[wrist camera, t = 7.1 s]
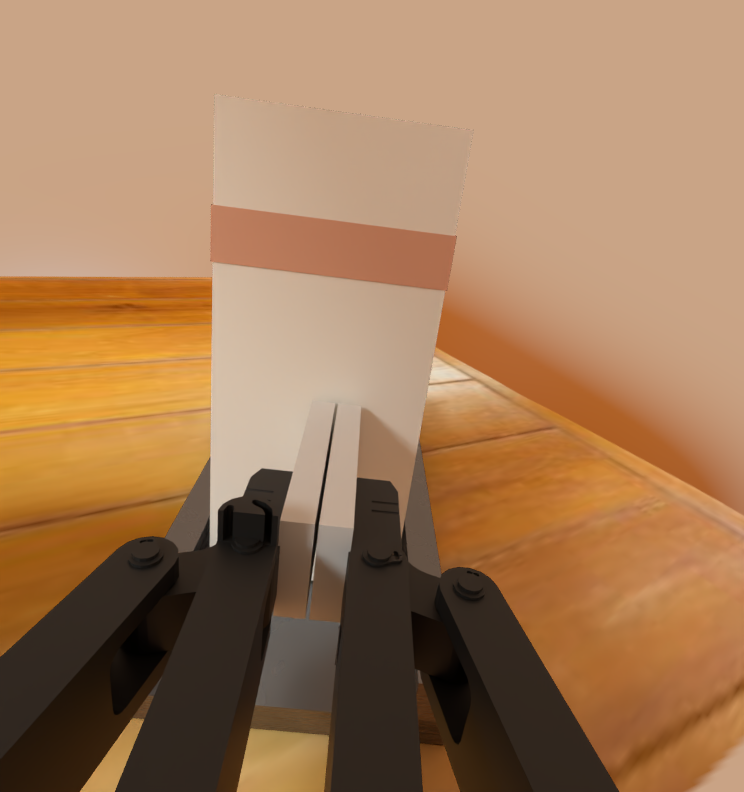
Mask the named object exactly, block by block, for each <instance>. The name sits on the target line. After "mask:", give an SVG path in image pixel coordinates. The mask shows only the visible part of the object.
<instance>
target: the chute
mask: <svg viewBox="0 0 744 792" xmlns="http://www.w3.org/2000/svg"><path fill="white" fill-rule="evenodd" d="M210 465H211V456H210V458H209V460H208V462H207V464H206V465H205V467H204V469H203V471H202V472H201V474H200V476H199V478H198V480H197V481H196V483H195V485H194V487H193V488H192V490H191V492H190V494H189V496H188V497H187V499H186V501H185V503H184V504H183V506H182V508H181V510H180V512H179V513H178V515H177V517H176V519H175V521H174V522H173V524H172V526H171V528H170V529H169V531H168V533H167V535H166V537H165V539H168V540H170V541H172V542H173V543H174V544H175V545H176V546H177V548H178V553H182V552H190V551H197V550H202V549H206V548H209V547H210ZM401 543H402V551H403V552H404V553H405V555H406V558H407V561H408V562H409V563H410V564H411V565H413V566H414V567H416V568H417V569H419V570H420V571H423V572H425V573H427V574H430V575H433V576H436V577H439V578H440V577H441V575H442V574H441V568H440V562H439V556H438V550H437V544H436V537H435V531H434V525H433V519H432V513H431V507H430V501H429V495H428V489H427V482H426V476H425V470H424V464H423V458H422V452H421V446H420V440H419V442H418V447H417V453H416V459H415V464H414V470H413V476H412V481H411V487H410V493H409V498H408V504H407V510H406V515H405V521H404V527H403V532H402V538H401ZM312 587H313V581H311V585H310V592H309V598H308V605H307V611H306V617H305V619H299V618H289V617H278V616H273V613H272V617H271V631H270V638H269V642H268V647H267V652H266V656H265V661H264V666H263V670H262V675H261V680H260V684H259V689H258V694H257V698H256V703H255V708H254V712H253V717H252V722H251V726H250V728H255V729H266V730H278V731H289V732H301V733H312V734H323V735H329V734H330V723H331V712H332V701H333V690H334V679H335V668H336V665H335V659H336V651H337V644H338V636H339V629H340V623H339V622H329V621H319V620H309V616H310V606H311V597H312ZM273 612H274V609H273ZM161 678H162V677H161ZM161 678H160V680H161ZM160 680H159V681H158V682H157V684H156V685H155V687H154V688H153V689H152V691H151V692H150V694H149V695H148V697H147V698H146V699H145V701H144V702H143V704H142V705H141V706H140V708H139V709H138V711H137V712H136V713H135V715H134V716H133V718H141V719H145V717H146V714H147V712H148V709H149V707H150V704H151V702H152V700H153V697H154V695H155V692H156V690H157V687H158V685H159V682H160ZM415 682H416V697H417V712H418V727H419V742H420V743H425V744H437V745H444V743H443V740H442V737H441V735H440V732H439V729H438V726H437V723H436V720H435V717H434V714H433V712H432V709H431V706H430V703H429V700H428V697H427V694H426V691H425V689H424V686H423V683H422V680H421V675H420V671H419V670H417V669H415Z"/></svg>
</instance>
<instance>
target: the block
mask: <svg viewBox="0 0 744 792" xmlns="http://www.w3.org/2000/svg"><path fill="white" fill-rule="evenodd" d="M472 136H473V130H469V129H462V128H455V127H447V126H440V125H433V124H426V123H419V122H412V121H405V120H397V119H390V118H383V117H375V116H368V115H361V114H354V113H347V112H339V111H332V110H325V109H318V108H311V107H303V106H296V105H289V104H282V103H274V102H267V101H260V100H253V99H246V98H239V97H231V96H224V95H217V94H214V179H213V180H214V182H213V183H214V184H213V204H211V260H210V261H212V262H213V274H212V370H211V465H210V547H211V546H214V545H215V544H216V543H217V528H218V509H219V508H220V507H221V506H222V504H223V503H225V502H227V501H229V500H231V499H234V498H238V497H242V496H243V495H244V492H245V490H246V487H247V485H248V482H249V480H250V477H251V476H253V475H254V474H255V473H256V472H258V471H259V470H260V469H261V468H265V469H274V470H283V471H292V472H293V470H294V467H295V463H296V459H297V455H298V452H299V448H300V444H301V441H302V437H303V433H304V430H305V426H306V422H307V418H308V415H309V411H310V407H311V404H312V400H313V401H322V402H331V403H335V411H334V421H333V430H332V439H333V433H334V427H335V421H336V414H337V408H338V403H339V404H348V405H356V406H361V417H360V433H359V449H358V466H357V477H358V478H367V479H376V480H385V481H390V482H391V483H392V484H393V486H394V487H395V488H396V490H397V491H398V498H399V515H400V528H401V538H402V532H403V527H404V521H405V515H406V510H407V504H408V498H409V493H410V487H411V481H412V476H413V470H414V464H415V459H416V453H417V447H418V442H419V436H420V430H421V425H422V419H423V414H424V408H425V402H426V397H427V391H428V385H429V380H430V374H431V368H432V363H433V357H434V351H435V345H436V340H437V334H438V329H439V323H440V317H441V312H442V306H443V300H444V295H445V291H447V289H448V283H449V277H450V272H451V266H452V261H453V255H454V249H455V244H456V237H457V236H456V235H455V233H456V226H457V221H458V215H459V209H460V204H461V198H462V193H463V187H464V182H465V175H466V170H467V165H468V159H469V153H470V148H471V142H472ZM332 439H331V446H332ZM330 452H331V449H330ZM316 549H317V547H316ZM315 558H316V553H315ZM314 568H315V560H314V566H313V572H312V579H311V581H313V577H314Z"/></svg>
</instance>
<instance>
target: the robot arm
mask: <svg viewBox="0 0 744 792" xmlns="http://www.w3.org/2000/svg"><path fill="white" fill-rule="evenodd" d="M334 411H335V403H331V402H322V401H313V400H312V404H311V407H310V411H309V415H308V418H307V422H306V426H305V430H304V433H303V437H302V441H301V444H300V448H299V452H298V455H297V459H296V463H295V467H294V470H293V472H292V471H283V470H274V469H265V468H261V469H260V470H259V471H258V472H256V473H255V474H254V475H253V476H251V477H250V480H249V482H248V485H247V487H246V490H245V492H244V495H243V496H242V497H238V498H234V499H231V500H229V501H227V502H225V503H223V504H222V506H221V507H220V508H219V509H218V528H217V543H216V544H215V545H214V546H211V547H209V548H206V549H202V550H197V551H190V552H182V553H178V548H177V546H176V545H175V544H174V543H173V542H172V541H170V540H168V539H165V538H161V537H153V536H151V537H142V538H138V539H135V540H132V541H129V542H127V543H126V544H124V545H123V546H121V547H120V548H118V549H117V550H116V551H115V552H114V553H113V554H112V555H111V556H109V557H108V558H107V559H106V560H105V561H104V562H103V563H102V564H101V565H100V566H99V567H98V568H96V569H95V570H94V571H93V572H92V573H91V574H90V575H89V576H88V577H87V578H86V579H85V580H83V581H82V582H81V583H80V584H79V585H78V586H77V587H76V588H75V589H74V590H73V591H72V592H70V593H69V594H68V595H67V596H66V597H65V598H64V599H63V600H62V601H61V602H60V603H59V604H58V605H56V606H55V607H54V608H53V609H52V610H51V611H50V612H49V613H48V614H47V615H46V616H45V617H43V618H42V619H41V620H40V621H39V622H38V623H37V624H36V625H35V626H34V627H33V628H32V629H30V630H29V631H28V632H27V633H26V634H25V635H24V636H23V637H22V638H21V639H20V640H19V641H17V642H16V643H15V644H14V645H13V646H12V647H11V648H10V649H9V650H8V651H7V652H6V653H4V654H3V655H2V656H1V657H0V792H80V790H81V789H82V788H83V786H84V785H85V783H86V782H87V781H88V779H89V778H90V776H91V775H92V774H93V772H94V771H95V769H96V768H97V767H98V765H99V764H100V762H101V761H102V760H103V758H104V757H105V755H106V754H107V753H108V751H109V750H110V748H111V747H112V746H113V744H114V743H115V741H116V740H117V739H118V737H119V736H120V734H121V733H122V732H123V730H124V729H125V727H126V726H127V725H128V723H129V722H130V720H131V719H132V718H133V716H134V715H135V713H136V712H137V711H138V709H139V708H140V706H141V705H142V704H143V702H144V701H145V699H146V698H147V697H148V695H149V694H150V692H151V691H152V689H153V688H154V687H155V685H156V684H157V682H158V681H159V680H160V678H161V677H162V678H161V680H160V682H159V685H158V687H157V690H156V692H155V695H154V697H153V700H152V702H151V704H150V707H149V709H148V712H147V714H146V717H145V719H144V722H143V724H142V727H141V729H140V731H139V734H138V736H137V739H136V741H135V744H134V746H133V749H132V751H131V753H130V756H129V758H128V761H127V763H126V766H125V768H124V771H123V773H122V776H121V778H120V780H119V783H118V785H117V788H116V790H115V792H237V787H238V782H239V778H240V773H241V768H242V764H243V759H244V754H245V750H246V745H247V740H248V736H249V731H250V726H251V722H252V717H253V712H254V708H255V703H256V698H257V694H258V689H259V684H260V680H261V675H262V670H263V666H264V661H265V656H266V652H267V647H268V642H269V638H270V631H271V617H272V613H273V616H278V617H289V618H299V619H305V617H306V611H307V605H308V598H309V592H310V585H311V579H312V572H313V566H314V560H315V568H314V577H313V587H312V597H311V606H310V616H309V620H319V621H329V622H339V623H340V629H339V636H338V644H337V651H336V659H335V665H336V668H335V679H334V690H333V701H332V712H331V723H330V734H329V745H328V756H327V767H326V778H325V789H324V792H423V786H422V772H421V757H420V742H419V727H418V712H417V697H416V682H415V669H417V670H419V671H420V675H421V680H422V683H423V686H424V689H425V691H426V694H427V697H428V700H429V703H430V706H431V709H432V712H433V714H434V717H435V720H436V723H437V726H438V729H439V732H440V735H441V737H442V740H443V743H444V746H445V749H446V752H447V755H448V757H449V760H450V763H451V766H452V769H453V772H454V775H455V778H456V780H457V783H458V786H459V789H460V792H619V790H618V789H617V787H616V785H615V784H614V782H613V780H612V779H611V777H610V775H609V774H608V772H607V770H606V769H605V767H604V765H603V764H602V762H601V760H600V758H599V757H598V755H597V753H596V752H595V750H594V748H593V747H592V745H591V743H590V742H589V740H588V738H587V737H586V735H585V733H584V732H583V730H582V728H581V727H580V725H579V723H578V721H577V720H576V718H575V716H574V715H573V713H572V711H571V710H570V708H569V706H568V705H567V703H566V701H565V700H564V698H563V696H562V695H561V693H560V691H559V689H558V688H557V686H556V684H555V683H554V681H553V679H552V678H551V676H550V674H549V673H548V671H547V669H546V668H545V666H544V664H543V663H542V661H541V659H540V657H539V656H538V654H537V652H536V651H535V649H534V647H533V646H532V644H531V642H530V641H529V639H528V637H527V636H526V634H525V632H524V631H523V629H522V627H521V625H520V624H519V622H518V620H517V619H516V617H515V615H514V614H513V612H512V610H511V609H510V607H509V605H508V604H507V602H506V600H505V599H504V597H503V595H502V594H501V592H500V590H499V588H498V587H497V585H496V584H495V583H494V582H493V581H492V580H491V578H489V577H488V576H486V575H485V574H483V573H482V572H480V571H477V570H474V569H471V568H463V567H456V568H452V569H448V570H447V571H445V572H444V573H443V574H442V575H441V577H440V578H439V577H436V576H433V575H430V574H427V573H425V572H423V571H420V570H419V569H417V568H416V567H414V566H413V565H411V564H410V563H409V562H408V561H407V558H406V555H405V553H404V552H403V551H402V543H401V528H400V515H399V498H398V491H397V490H396V488H395V487H394V486H393V484H392V483H391V482H390V481H385V480H376V479H367V478H358V477H357V466H358V449H359V433H360V417H361V406H356V405H348V404H339V403H338V408H337V414H336V421H335V427H334V433H333V439H332V430H333V421H334ZM331 439H332V446H331ZM330 449H331V452H330ZM316 547H317V549H316ZM315 553H316V558H315ZM273 609H274V612H273Z"/></svg>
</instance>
